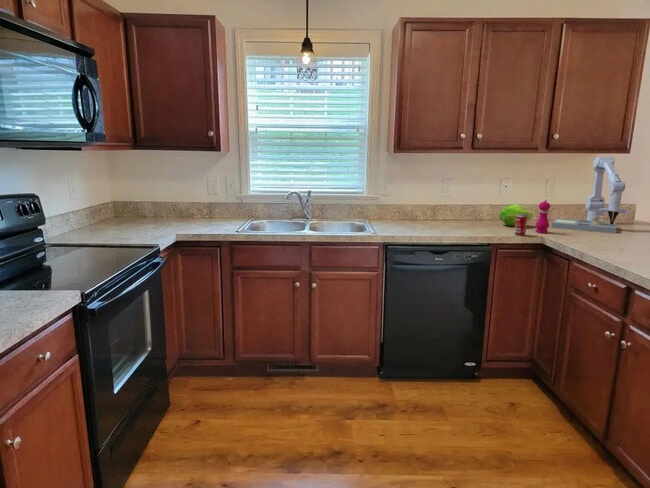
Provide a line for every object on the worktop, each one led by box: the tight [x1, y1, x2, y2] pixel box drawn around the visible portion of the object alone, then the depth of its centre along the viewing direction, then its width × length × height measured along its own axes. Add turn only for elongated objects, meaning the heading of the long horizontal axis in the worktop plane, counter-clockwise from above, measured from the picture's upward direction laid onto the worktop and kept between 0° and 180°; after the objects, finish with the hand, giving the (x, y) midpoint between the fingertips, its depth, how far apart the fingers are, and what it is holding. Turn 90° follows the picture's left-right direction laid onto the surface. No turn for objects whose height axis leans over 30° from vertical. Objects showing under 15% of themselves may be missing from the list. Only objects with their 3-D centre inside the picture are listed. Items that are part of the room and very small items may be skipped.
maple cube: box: [593, 215, 603, 225], centre depth 266 cm, size 5×5×5 cm
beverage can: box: [514, 214, 528, 237], centre depth 246 cm, size 6×6×12 cm
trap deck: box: [551, 217, 618, 234], centre depth 271 cm, size 34×22×3 cm, turn 56°
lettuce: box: [498, 203, 534, 227], centre depth 275 cm, size 15×20×14 cm
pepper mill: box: [535, 199, 551, 234], centre depth 253 cm, size 7×7×20 cm
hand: (611, 223), depth 262 cm, fingers closed
